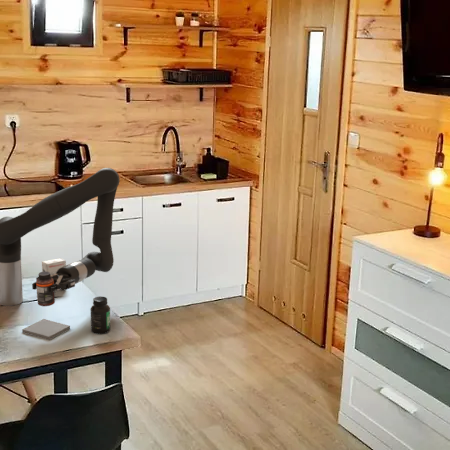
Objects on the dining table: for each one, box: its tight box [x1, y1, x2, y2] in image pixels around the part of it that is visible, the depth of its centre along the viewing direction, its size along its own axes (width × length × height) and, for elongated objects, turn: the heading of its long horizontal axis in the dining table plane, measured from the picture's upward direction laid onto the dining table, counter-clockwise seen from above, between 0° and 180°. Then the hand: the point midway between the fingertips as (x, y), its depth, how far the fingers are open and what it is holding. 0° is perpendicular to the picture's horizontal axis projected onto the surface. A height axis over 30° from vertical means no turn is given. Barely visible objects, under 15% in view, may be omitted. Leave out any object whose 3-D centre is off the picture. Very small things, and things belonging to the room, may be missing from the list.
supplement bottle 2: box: [90, 296, 111, 335], centre depth 249 cm, size 7×7×12 cm
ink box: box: [41, 257, 67, 275], centre depth 288 cm, size 9×5×12 cm, turn 130°
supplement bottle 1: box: [35, 271, 56, 307], centre depth 244 cm, size 6×6×11 cm
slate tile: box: [21, 318, 71, 341], centre depth 248 cm, size 12×11×1 cm
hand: (40, 288), depth 242 cm, fingers closed on supplement bottle 1, 6 cm apart
